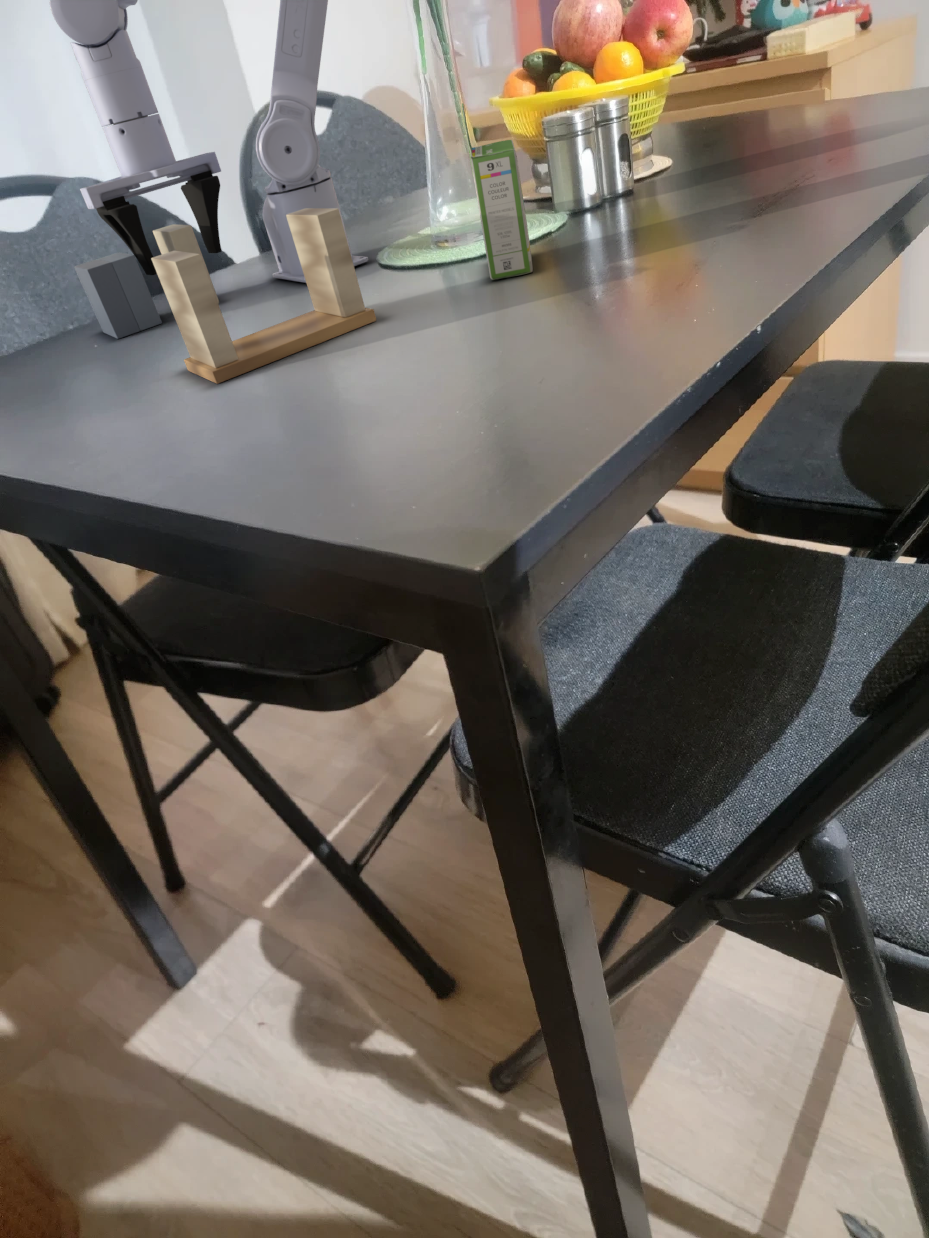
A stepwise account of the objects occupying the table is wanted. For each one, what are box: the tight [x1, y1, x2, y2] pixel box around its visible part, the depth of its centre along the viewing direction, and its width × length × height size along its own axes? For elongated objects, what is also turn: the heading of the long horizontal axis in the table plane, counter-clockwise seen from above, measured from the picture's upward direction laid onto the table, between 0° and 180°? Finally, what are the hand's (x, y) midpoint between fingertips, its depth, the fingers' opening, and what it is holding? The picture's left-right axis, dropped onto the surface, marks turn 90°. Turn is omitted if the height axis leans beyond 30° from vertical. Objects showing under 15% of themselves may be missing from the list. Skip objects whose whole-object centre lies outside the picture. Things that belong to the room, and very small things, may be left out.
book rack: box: [151, 208, 377, 385], centre depth 67 cm, size 7×15×9 cm, turn 126°
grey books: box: [73, 251, 163, 340], centre depth 87 cm, size 6×5×7 cm
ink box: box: [461, 102, 534, 281], centre depth 72 cm, size 7×4×13 cm, turn 179°
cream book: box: [152, 223, 220, 304], centre depth 90 cm, size 6×2×8 cm, turn 36°
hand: (184, 263), depth 90 cm, fingers open, 7 cm apart
